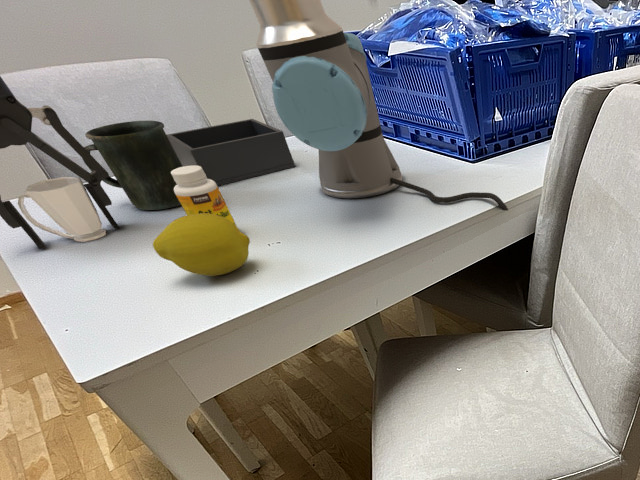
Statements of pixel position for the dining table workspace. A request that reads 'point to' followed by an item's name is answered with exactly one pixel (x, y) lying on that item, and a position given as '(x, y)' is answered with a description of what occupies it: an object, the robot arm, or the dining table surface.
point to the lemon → (203, 244)
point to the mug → (138, 161)
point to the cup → (65, 208)
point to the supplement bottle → (199, 192)
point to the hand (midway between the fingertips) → (79, 235)
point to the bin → (233, 150)
